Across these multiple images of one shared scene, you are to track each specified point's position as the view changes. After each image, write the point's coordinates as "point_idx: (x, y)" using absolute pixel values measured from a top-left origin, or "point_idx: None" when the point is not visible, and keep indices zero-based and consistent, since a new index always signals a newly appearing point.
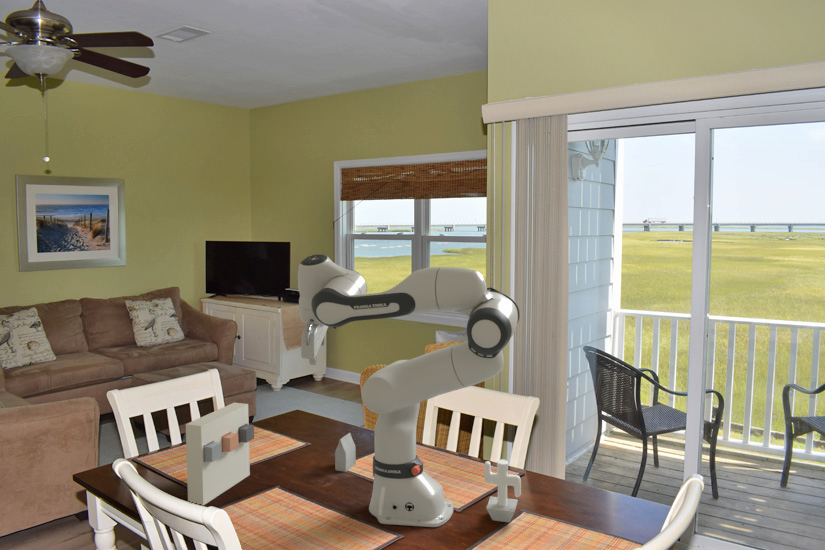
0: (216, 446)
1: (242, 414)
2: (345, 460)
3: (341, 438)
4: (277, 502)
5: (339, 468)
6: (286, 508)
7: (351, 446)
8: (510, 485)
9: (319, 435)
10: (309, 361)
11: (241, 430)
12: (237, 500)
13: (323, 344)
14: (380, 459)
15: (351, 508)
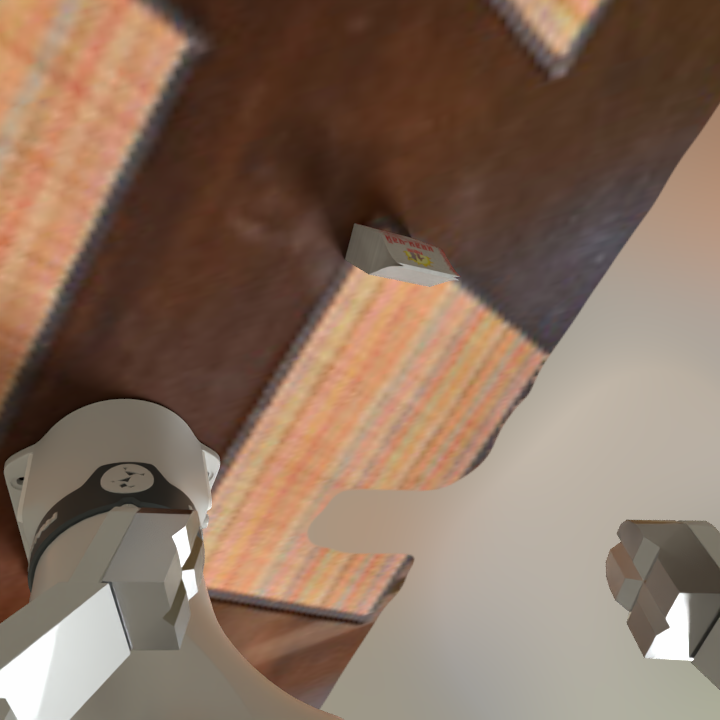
0: None
1: None
2: (359, 267)
3: (405, 266)
4: (52, 83)
5: (353, 239)
6: (11, 137)
7: (413, 281)
8: None
9: (616, 91)
10: (92, 540)
11: None
12: None
13: (613, 585)
14: (41, 561)
15: (85, 354)
